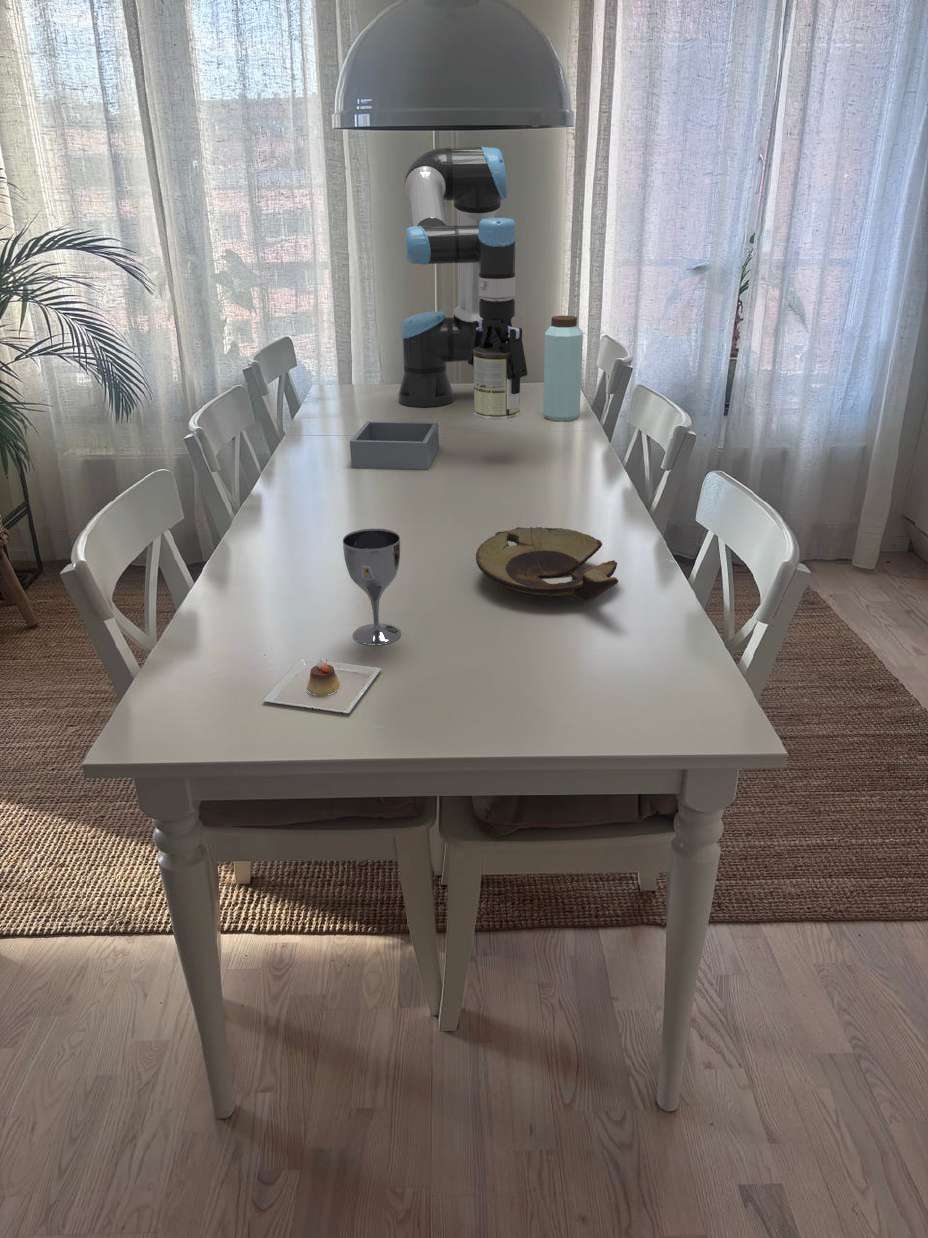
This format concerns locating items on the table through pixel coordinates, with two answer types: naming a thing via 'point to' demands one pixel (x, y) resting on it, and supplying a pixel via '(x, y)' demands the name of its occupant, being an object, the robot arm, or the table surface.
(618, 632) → the table surface
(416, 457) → the bin
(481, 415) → the coffee can
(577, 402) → the water bottle
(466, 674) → the table surface
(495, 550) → the brown shallow dish
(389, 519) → the table surface
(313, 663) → the dessert
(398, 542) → the wine glass
